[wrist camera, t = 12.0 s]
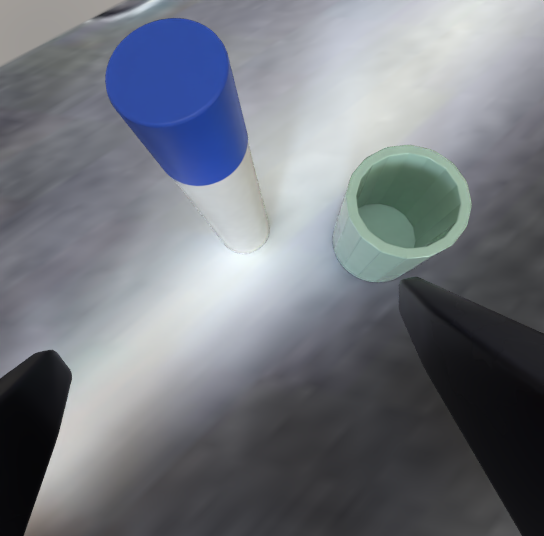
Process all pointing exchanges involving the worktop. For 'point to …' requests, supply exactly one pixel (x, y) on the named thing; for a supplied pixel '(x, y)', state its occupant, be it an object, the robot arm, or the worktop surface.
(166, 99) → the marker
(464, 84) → the worktop surface
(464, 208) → the glass
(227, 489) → the worktop surface
